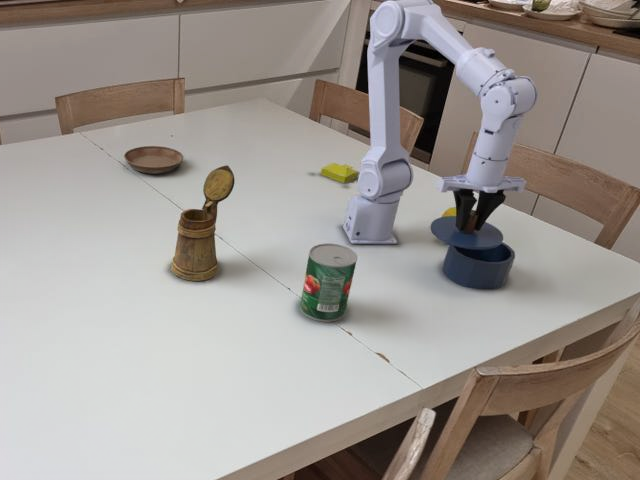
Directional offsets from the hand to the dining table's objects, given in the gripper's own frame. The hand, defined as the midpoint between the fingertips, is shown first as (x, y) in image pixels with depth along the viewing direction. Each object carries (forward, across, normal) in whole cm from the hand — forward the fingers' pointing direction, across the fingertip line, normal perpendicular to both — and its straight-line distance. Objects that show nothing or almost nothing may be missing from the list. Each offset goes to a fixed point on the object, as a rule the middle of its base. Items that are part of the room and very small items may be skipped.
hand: (467, 228), depth 121 cm
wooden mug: (+11, -47, +6) cm, 49 cm away
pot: (+10, +5, +1) cm, 12 cm away
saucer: (+11, -55, +56) cm, 79 cm away
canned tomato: (+11, -27, -10) cm, 31 cm away
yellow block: (+11, -9, +49) cm, 51 cm away
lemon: (+11, +5, +14) cm, 18 cm away
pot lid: (+1, 0, 0) cm, 1 cm away
